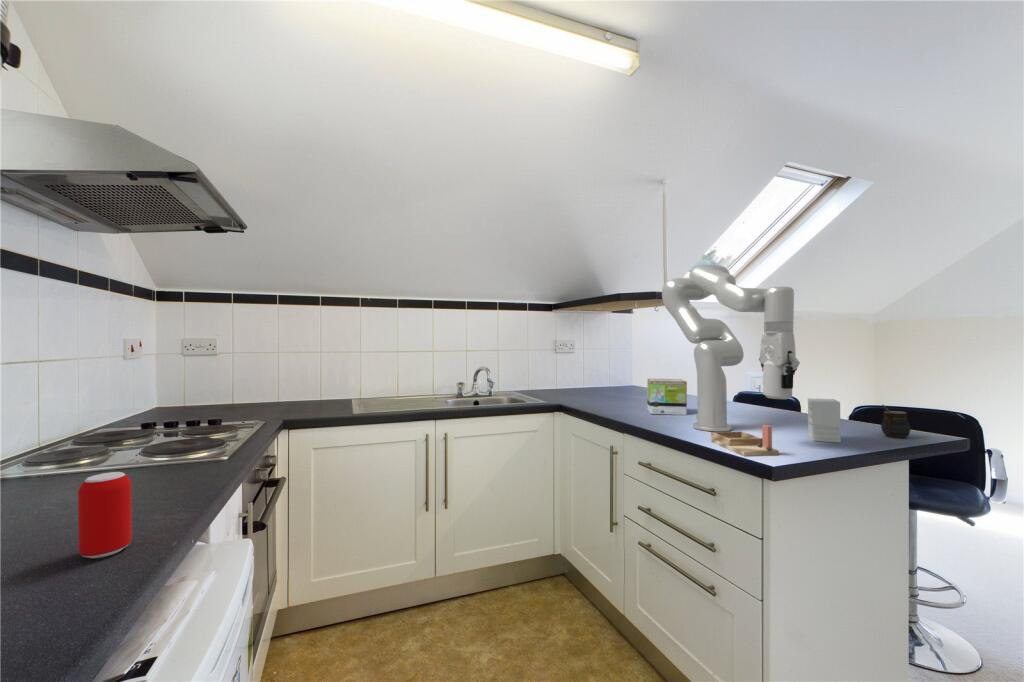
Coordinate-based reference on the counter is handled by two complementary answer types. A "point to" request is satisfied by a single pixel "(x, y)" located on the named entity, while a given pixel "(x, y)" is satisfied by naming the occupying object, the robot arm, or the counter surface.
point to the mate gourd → (895, 424)
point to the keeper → (766, 436)
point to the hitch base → (742, 443)
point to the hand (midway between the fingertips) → (777, 386)
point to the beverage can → (104, 514)
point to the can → (774, 381)
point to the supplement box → (824, 420)
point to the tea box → (667, 396)
